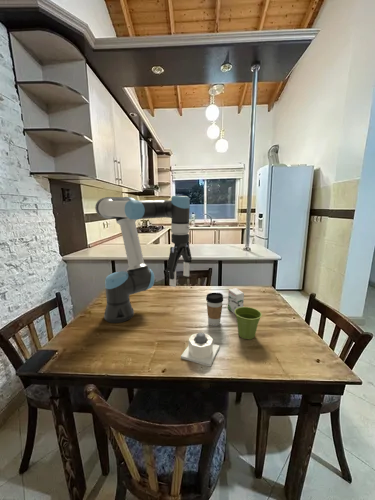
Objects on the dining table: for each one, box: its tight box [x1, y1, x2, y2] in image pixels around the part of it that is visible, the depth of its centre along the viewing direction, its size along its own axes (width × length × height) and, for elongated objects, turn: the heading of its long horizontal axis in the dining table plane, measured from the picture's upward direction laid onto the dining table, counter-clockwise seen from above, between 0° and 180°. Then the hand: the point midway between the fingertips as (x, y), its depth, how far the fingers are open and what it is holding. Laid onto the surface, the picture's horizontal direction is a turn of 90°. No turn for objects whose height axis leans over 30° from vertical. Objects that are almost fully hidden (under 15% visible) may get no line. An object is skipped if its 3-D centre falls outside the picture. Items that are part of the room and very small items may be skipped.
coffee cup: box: [205, 292, 224, 327], centre depth 115 cm, size 8×8×15 cm
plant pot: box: [234, 306, 263, 340], centre depth 104 cm, size 12×12×11 cm
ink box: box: [227, 287, 245, 315], centre depth 128 cm, size 9×5×12 cm, turn 23°
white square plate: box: [180, 332, 220, 367], centre depth 92 cm, size 12×12×8 cm
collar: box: [188, 333, 214, 359], centre depth 92 cm, size 9×9×5 cm
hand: (179, 280), depth 102 cm, fingers open, 13 cm apart
